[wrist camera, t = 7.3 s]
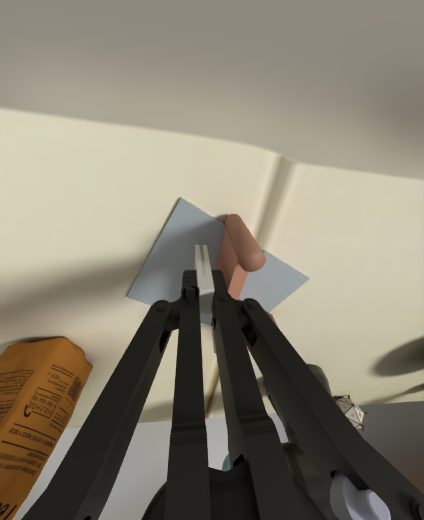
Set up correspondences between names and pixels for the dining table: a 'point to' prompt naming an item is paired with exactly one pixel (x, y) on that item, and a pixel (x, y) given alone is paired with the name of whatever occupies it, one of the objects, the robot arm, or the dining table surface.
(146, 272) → the card
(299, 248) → the dining table surface
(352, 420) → the game die
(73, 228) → the dining table surface
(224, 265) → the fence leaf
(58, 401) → the coffee package
